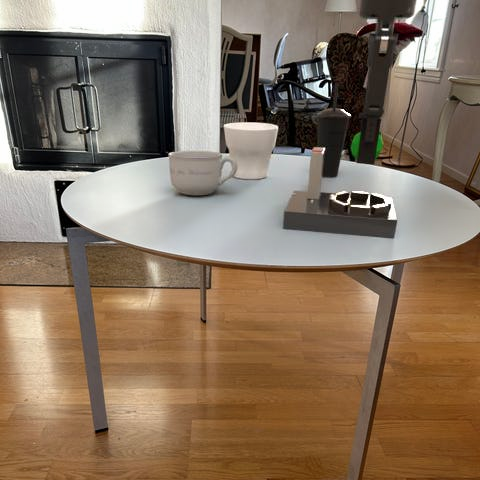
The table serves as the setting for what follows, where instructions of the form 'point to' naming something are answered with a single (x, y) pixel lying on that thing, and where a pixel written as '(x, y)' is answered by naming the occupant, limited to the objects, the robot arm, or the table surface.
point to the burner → (359, 204)
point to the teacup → (198, 171)
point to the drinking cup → (332, 136)
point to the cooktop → (334, 218)
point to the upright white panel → (315, 173)
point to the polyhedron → (356, 145)
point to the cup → (251, 147)
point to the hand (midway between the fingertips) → (365, 159)
